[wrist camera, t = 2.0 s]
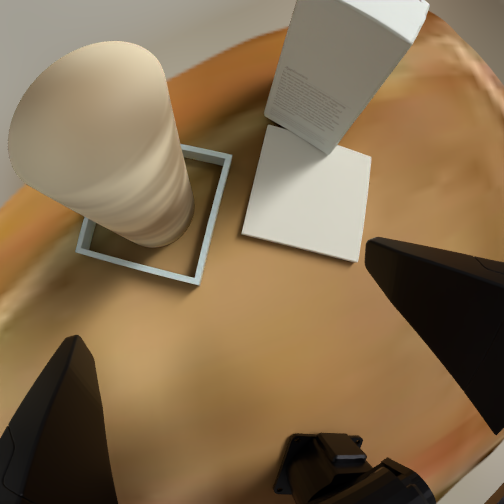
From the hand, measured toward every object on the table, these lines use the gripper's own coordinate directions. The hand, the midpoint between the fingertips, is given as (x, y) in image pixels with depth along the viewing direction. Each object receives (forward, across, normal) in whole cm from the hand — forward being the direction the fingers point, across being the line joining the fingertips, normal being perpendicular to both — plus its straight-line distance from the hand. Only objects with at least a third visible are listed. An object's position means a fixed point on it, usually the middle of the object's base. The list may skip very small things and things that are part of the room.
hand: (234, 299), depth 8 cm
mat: (+13, -10, +3) cm, 17 cm away
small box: (+17, -13, -3) cm, 21 cm away
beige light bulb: (+15, +2, +2) cm, 16 cm away
